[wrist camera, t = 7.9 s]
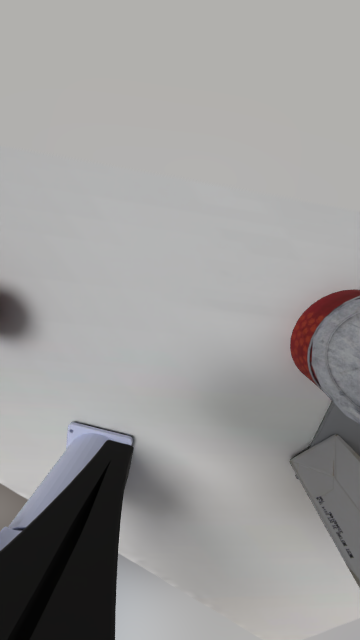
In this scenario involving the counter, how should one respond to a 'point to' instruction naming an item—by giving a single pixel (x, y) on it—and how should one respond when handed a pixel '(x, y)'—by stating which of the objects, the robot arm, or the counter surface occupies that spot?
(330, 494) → the coffee box
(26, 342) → the counter surface
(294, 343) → the canned food
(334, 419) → the mat
